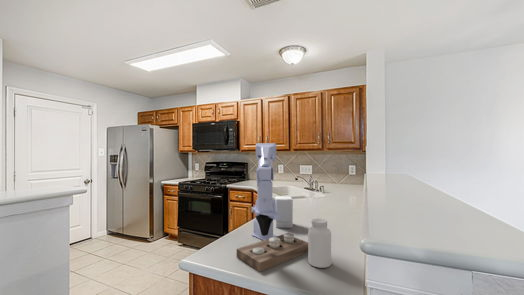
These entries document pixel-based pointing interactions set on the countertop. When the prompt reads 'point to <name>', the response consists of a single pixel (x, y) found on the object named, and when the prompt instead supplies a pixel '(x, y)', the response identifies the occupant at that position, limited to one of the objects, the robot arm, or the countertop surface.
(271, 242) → the middle knob
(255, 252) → the outer knob
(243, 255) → the knob board
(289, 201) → the supplement box
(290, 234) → the outer knob
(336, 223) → the countertop surface
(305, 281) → the countertop surface
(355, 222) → the countertop surface
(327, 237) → the pill bottle
